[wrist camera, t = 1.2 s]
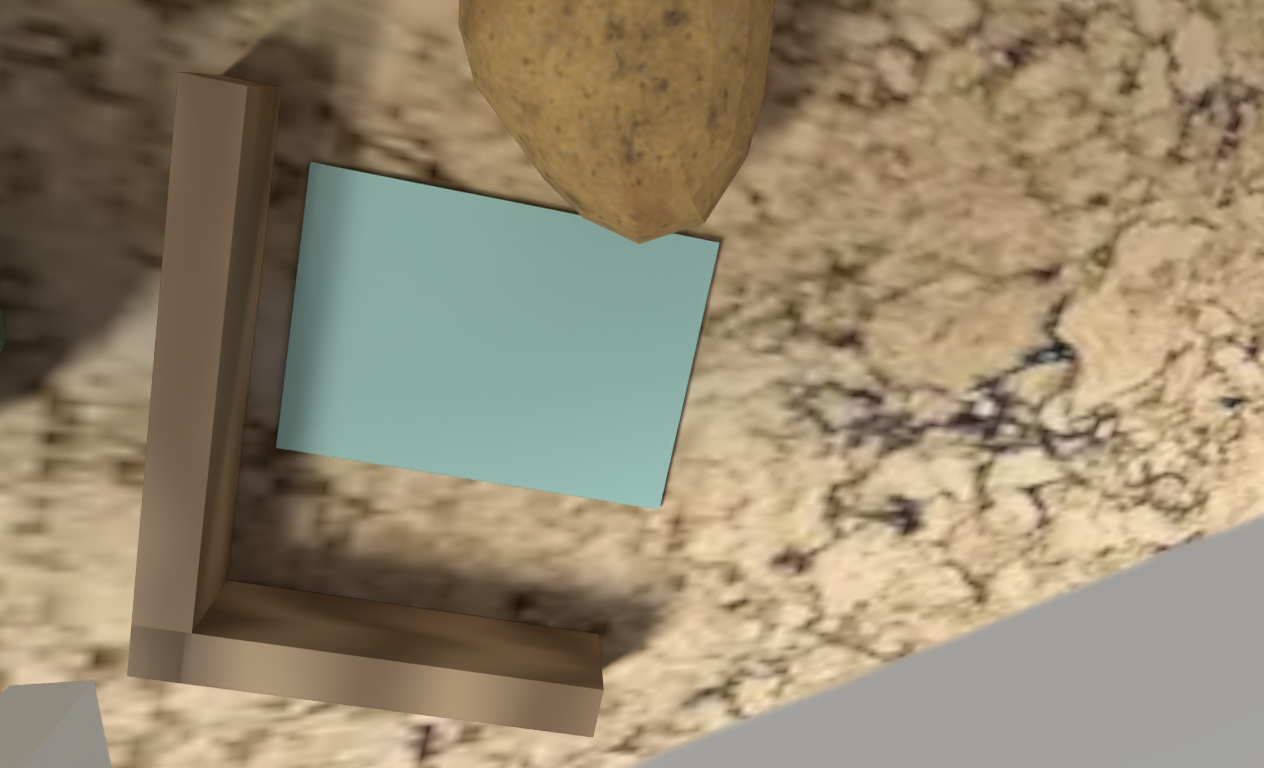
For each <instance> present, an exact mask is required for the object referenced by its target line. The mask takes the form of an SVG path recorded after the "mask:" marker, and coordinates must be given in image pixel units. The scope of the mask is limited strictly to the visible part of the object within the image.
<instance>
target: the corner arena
mask: <svg viewBox="0 0 1264 768" xmlns="http://www.w3.org/2000/svg"><path fill="white" fill-rule="evenodd" d="M281 90H282V87H277V86H272V85H267V84H262V83H258V82H253V81H248V80H243V79H238V78H233V77H228V76H223V75H214V74H200V73H186V72H178V81H177V93H176V105H175V117H174V129H173V141H172V152H171V164H170V176H169V188H168V200H167V212H166V223H165V235H164V247H163V259H162V271H161V282H160V294H159V306H158V318H157V330H156V342H155V353H154V365H153V377H152V389H151V401H150V413H149V424H148V436H147V448H146V460H145V472H144V483H143V495H142V507H141V519H140V531H139V543H138V554H137V566H136V578H135V590H134V602H133V614H132V625H131V637H130V649H129V661H128V673H127V676H130V677H137V678H145V679H153V680H160V681H168V682H175V683H183V684H191V685H198V686H206V687H214V688H221V689H229V690H236V691H244V692H252V693H259V694H267V695H274V696H282V697H290V698H297V699H305V700H313V701H320V702H328V703H335V704H343V705H351V706H358V707H366V708H373V709H381V710H389V711H396V712H404V713H412V714H419V715H427V716H434V717H442V718H450V719H457V720H465V721H472V722H480V723H488V724H495V725H503V726H511V727H518V728H526V729H533V730H541V731H549V732H556V733H564V734H571V735H579V736H587V737H593V736H594V731H595V727H596V722H597V718H598V713H599V709H600V704H601V700H602V695H603V691H604V689H603V677H602V666H601V654H600V642H599V634H595V633H588V632H581V631H574V630H568V629H561V628H554V627H547V626H540V625H533V624H526V623H519V622H512V621H505V620H498V619H491V618H484V617H478V616H471V615H464V614H457V613H450V612H443V611H436V610H429V609H422V608H415V607H408V606H401V605H394V604H388V603H381V602H374V601H367V600H360V599H353V598H346V597H339V596H332V595H325V594H318V593H311V592H305V591H298V590H291V589H284V588H277V587H270V586H263V585H256V584H249V583H242V582H235V581H228V571H229V562H230V553H231V544H232V535H233V526H234V517H235V508H236V499H237V490H238V481H239V472H240V463H241V453H242V444H243V435H244V426H245V417H246V408H247V399H248V390H249V381H250V372H251V363H252V354H253V345H254V336H255V326H256V317H257V308H258V299H259V290H260V281H261V272H262V263H263V254H264V245H265V236H266V227H267V218H268V208H269V199H270V190H271V181H272V172H273V163H274V154H275V145H276V136H277V127H278V118H279V109H280V100H281Z"/></svg>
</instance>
